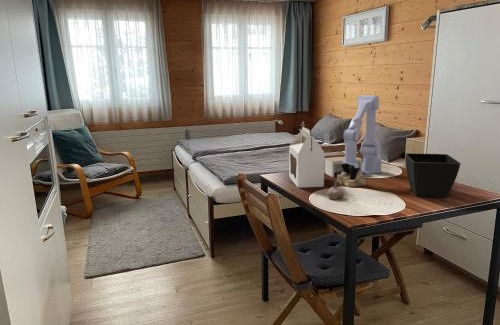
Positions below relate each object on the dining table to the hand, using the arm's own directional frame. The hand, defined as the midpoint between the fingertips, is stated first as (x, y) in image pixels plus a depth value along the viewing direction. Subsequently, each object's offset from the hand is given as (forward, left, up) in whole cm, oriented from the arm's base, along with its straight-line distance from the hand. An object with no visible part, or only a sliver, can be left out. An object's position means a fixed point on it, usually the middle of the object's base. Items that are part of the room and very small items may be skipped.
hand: (349, 178), depth 195 cm
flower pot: (-24, +29, -2) cm, 38 cm away
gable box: (+21, -8, -2) cm, 23 cm away
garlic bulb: (+19, +22, -2) cm, 29 cm away
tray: (0, +3, -2) cm, 3 cm away
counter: (-5, -17, -2) cm, 18 cm away
